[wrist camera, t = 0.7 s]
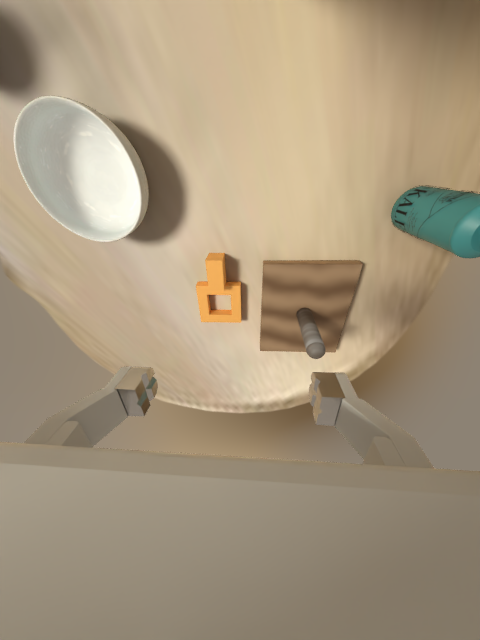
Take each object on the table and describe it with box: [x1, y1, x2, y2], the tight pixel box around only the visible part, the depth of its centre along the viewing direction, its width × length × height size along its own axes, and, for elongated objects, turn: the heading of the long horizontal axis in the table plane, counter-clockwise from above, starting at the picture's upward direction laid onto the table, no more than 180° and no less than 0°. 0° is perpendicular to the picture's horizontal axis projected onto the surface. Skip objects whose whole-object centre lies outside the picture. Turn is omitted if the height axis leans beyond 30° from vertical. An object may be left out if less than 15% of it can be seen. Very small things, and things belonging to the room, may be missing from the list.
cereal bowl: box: [14, 96, 149, 242], centre depth 33 cm, size 17×17×7 cm
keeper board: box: [260, 260, 363, 359], centre depth 43 cm, size 22×18×15 cm
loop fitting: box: [196, 253, 242, 322], centre depth 45 cm, size 15×9×4 cm, turn 1°
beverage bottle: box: [391, 185, 480, 258], centre depth 28 cm, size 6×7×20 cm
